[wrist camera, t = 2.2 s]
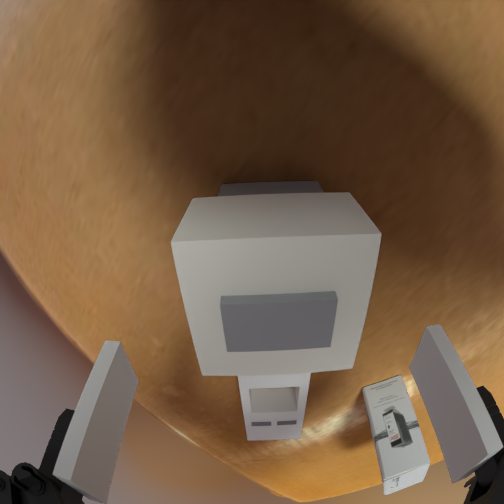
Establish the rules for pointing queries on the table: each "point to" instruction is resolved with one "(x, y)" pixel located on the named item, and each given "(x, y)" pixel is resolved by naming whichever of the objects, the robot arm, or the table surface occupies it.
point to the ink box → (395, 434)
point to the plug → (276, 281)
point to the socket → (274, 405)
